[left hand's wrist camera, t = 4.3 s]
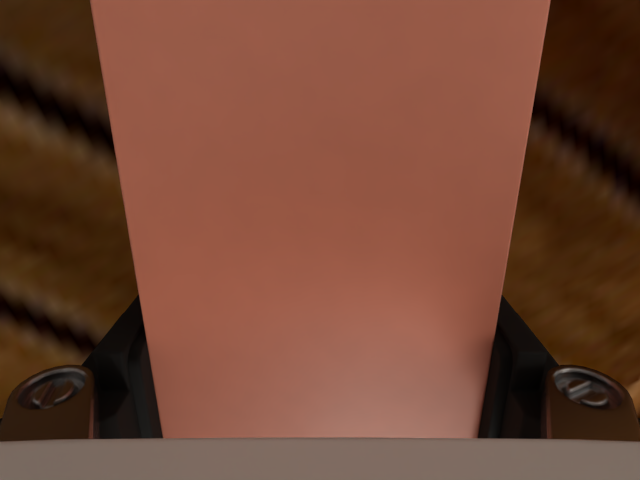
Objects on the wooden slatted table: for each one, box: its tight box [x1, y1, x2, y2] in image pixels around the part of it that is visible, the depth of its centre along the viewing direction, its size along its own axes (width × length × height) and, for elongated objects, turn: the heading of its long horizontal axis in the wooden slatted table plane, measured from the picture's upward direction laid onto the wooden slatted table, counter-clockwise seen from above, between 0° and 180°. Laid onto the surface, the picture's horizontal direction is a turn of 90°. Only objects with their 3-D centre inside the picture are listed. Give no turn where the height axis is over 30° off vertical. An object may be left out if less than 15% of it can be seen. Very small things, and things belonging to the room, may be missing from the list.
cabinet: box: [90, 0, 550, 438], centre depth 11 cm, size 20×6×9 cm, turn 0°
